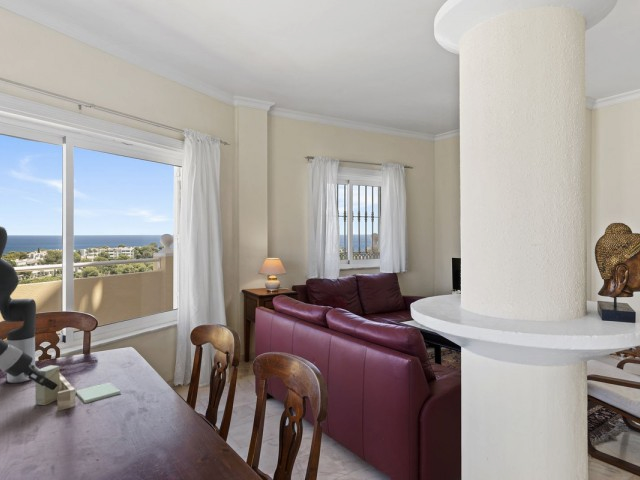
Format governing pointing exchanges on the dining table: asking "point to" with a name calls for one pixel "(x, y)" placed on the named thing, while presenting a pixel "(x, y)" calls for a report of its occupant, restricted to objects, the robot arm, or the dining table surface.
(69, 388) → the beige long angular piece
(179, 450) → the dining table surface
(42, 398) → the skincare box
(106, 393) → the sage tile
